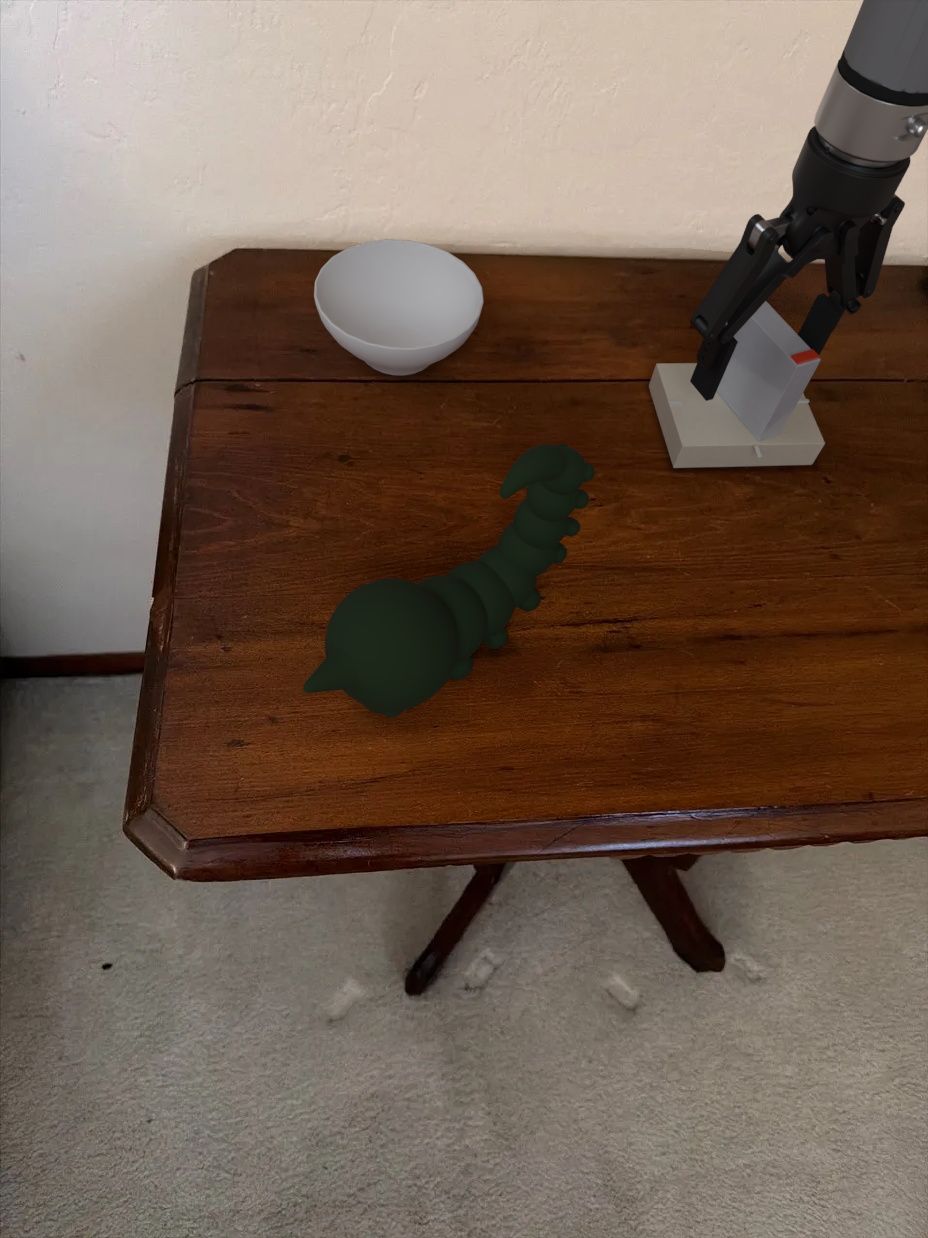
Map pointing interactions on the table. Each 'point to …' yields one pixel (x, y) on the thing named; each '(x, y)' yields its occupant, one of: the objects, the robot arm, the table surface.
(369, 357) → the bowl
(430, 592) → the toy figurine
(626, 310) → the table surface
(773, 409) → the leaning grey slab
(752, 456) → the base
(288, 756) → the table surface
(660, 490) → the table surface
